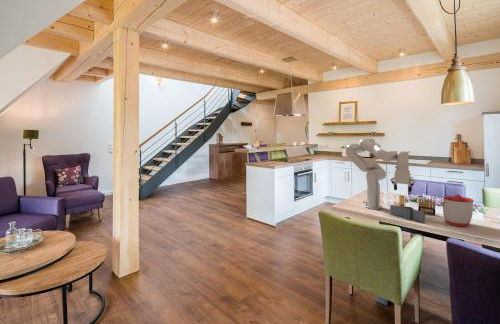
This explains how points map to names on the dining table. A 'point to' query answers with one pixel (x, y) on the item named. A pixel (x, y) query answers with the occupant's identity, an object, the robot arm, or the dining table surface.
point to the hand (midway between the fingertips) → (402, 190)
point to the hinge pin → (401, 200)
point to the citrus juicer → (457, 210)
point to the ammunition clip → (426, 206)
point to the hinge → (407, 213)
